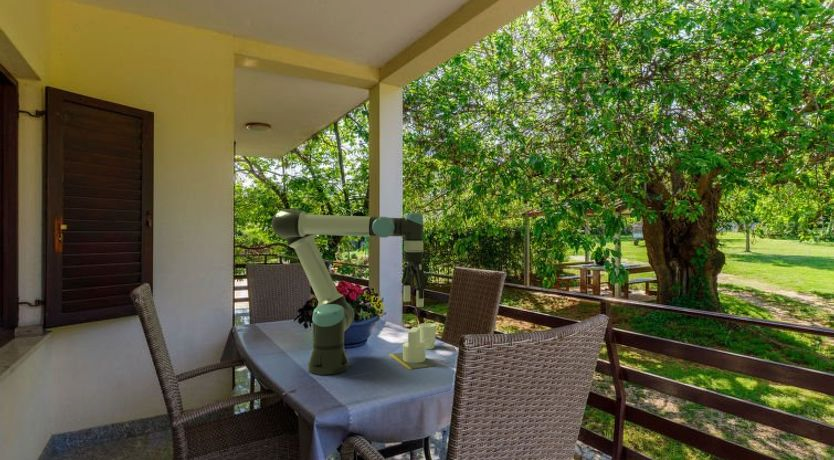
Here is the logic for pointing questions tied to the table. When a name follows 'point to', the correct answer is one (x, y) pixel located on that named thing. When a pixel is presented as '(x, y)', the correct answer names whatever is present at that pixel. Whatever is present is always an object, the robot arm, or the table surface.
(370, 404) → the table surface
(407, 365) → the mat
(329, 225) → the robot arm
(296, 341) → the table surface
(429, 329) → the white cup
